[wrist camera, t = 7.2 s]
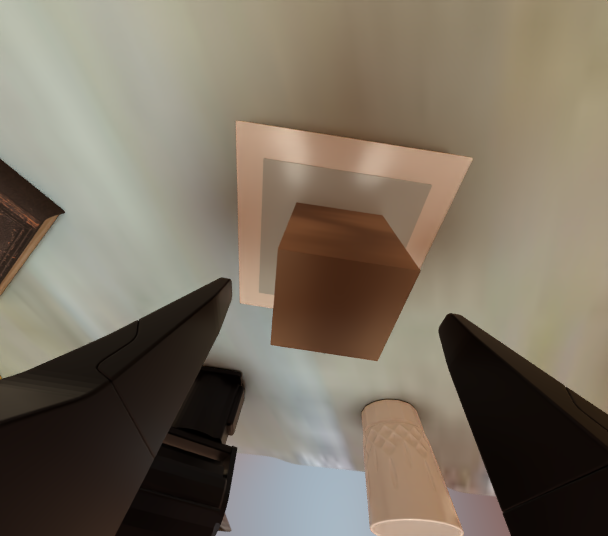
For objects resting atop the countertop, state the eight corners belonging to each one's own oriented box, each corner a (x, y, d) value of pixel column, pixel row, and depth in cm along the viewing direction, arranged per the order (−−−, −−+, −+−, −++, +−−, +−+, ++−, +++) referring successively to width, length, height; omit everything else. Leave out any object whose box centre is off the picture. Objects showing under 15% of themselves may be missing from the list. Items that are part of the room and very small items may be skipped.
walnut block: (288, 274, 16) (270, 344, 10) (296, 202, 13) (277, 249, 8) (360, 285, 16) (377, 360, 10) (382, 215, 13) (420, 270, 8)
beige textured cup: (368, 390, 26) (388, 514, 18) (432, 402, 27) (483, 529, 18) (349, 422, 31) (359, 535, 22) (405, 432, 31) (436, 547, 22)
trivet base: (249, 284, 20) (239, 304, 17) (249, 122, 13) (234, 120, 11) (384, 305, 20) (392, 328, 17) (449, 153, 13) (475, 158, 11)
